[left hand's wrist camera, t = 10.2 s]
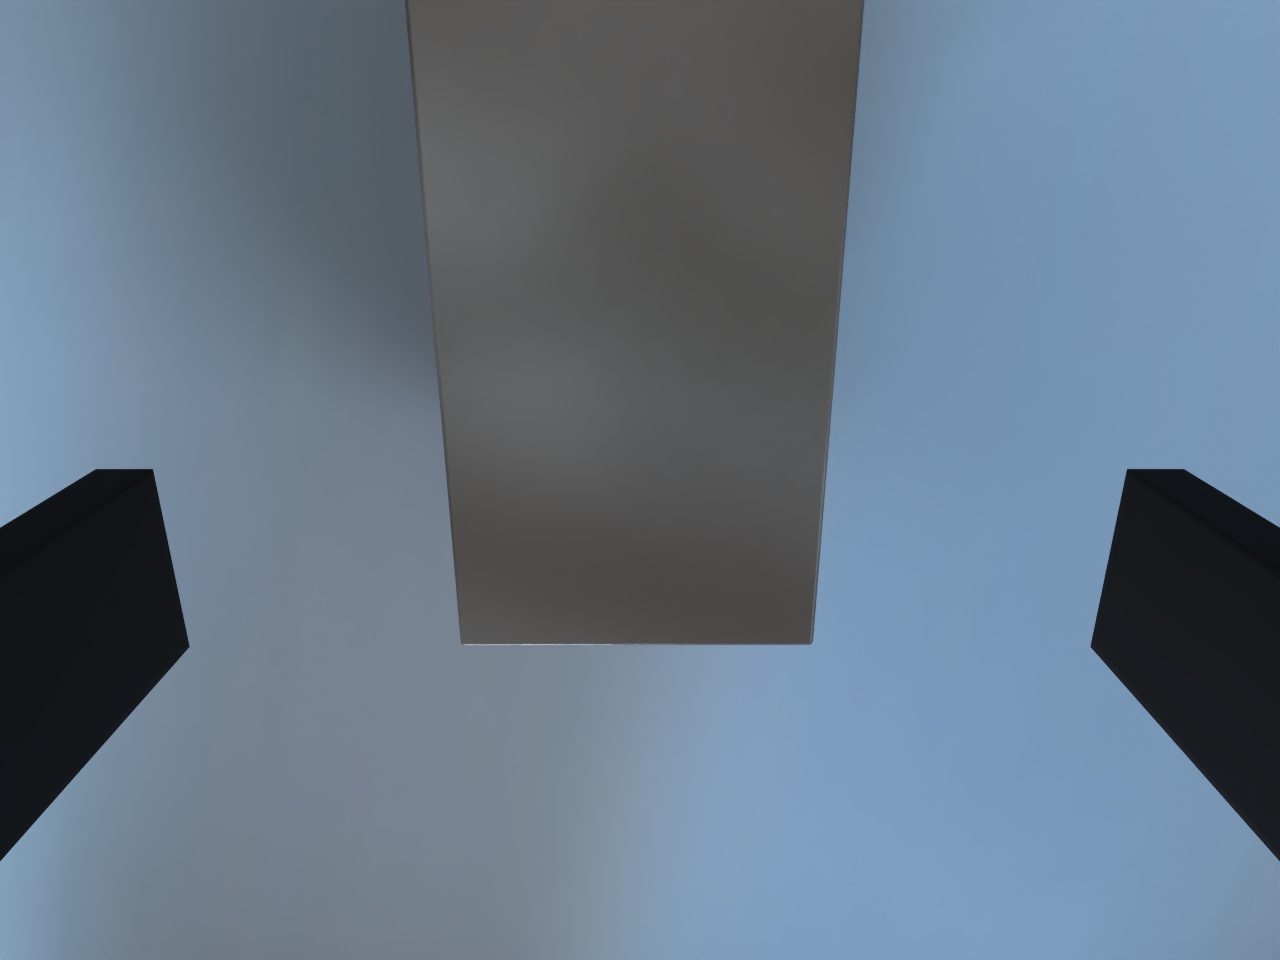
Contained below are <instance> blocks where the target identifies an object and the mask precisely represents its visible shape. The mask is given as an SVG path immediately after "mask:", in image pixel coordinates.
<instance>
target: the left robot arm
mask: <svg viewBox="0 0 1280 960" xmlns="http://www.w3.org/2000/svg"><path fill="white" fill-rule="evenodd" d="M188 648H189V642H188V637H187V632H186V628H185V623H184V618H183V613H182V608H181V603H180V598H179V594H178V589H177V584H176V579H175V574H174V569H173V564H172V560H171V555H170V550H169V545H168V540H167V535H166V531H165V526H164V521H163V516H162V511H161V506H160V501H159V497H158V492H157V487H156V482H155V477H154V472H153V469H96V470H94V471H92V472H91V473H89V474H87V475H86V476H84V477H82V478H81V479H79V480H78V481H76V482H74V483H73V484H71V485H69V486H68V487H66V488H64V489H63V490H61V491H60V492H58V493H56V494H55V495H53V496H51V497H50V498H48V499H46V500H45V501H43V502H42V503H40V504H38V505H37V506H35V507H33V508H32V509H30V510H29V511H27V512H25V513H24V514H22V515H20V516H19V517H17V518H15V519H14V520H12V521H11V522H9V523H7V524H6V525H4V526H2V527H1V528H0V861H1V860H2V859H3V857H4V856H5V855H6V854H7V853H8V852H9V851H10V850H11V848H12V847H13V846H14V845H15V844H16V843H17V842H18V840H19V839H20V838H21V837H22V836H23V835H24V834H25V833H26V831H27V830H28V829H29V828H30V827H31V826H32V825H33V824H34V822H35V821H36V820H37V819H38V818H39V817H40V816H41V814H42V813H43V812H44V811H45V810H46V809H47V808H48V807H49V805H50V804H51V803H52V802H53V801H54V800H55V799H56V797H57V796H58V795H59V794H60V793H61V792H62V791H63V790H64V788H65V787H66V786H67V785H68V784H69V783H70V782H71V780H72V779H73V778H74V777H75V776H76V775H77V774H78V773H79V771H80V770H81V769H82V768H83V767H84V766H85V765H86V763H87V762H88V761H89V760H90V759H91V758H92V757H93V756H94V754H95V753H96V752H97V751H98V750H99V749H100V748H101V746H102V745H103V744H104V743H105V742H106V741H107V740H108V739H109V737H110V736H111V735H112V734H113V733H114V732H115V731H116V729H117V728H118V727H119V726H120V725H121V724H122V723H123V722H124V720H125V719H126V718H127V717H128V716H129V715H130V714H131V713H132V711H133V710H134V709H135V708H136V707H137V706H138V705H139V703H140V702H141V701H142V700H143V699H144V698H145V697H146V696H147V694H148V693H149V692H150V691H151V690H152V689H153V688H154V686H155V685H156V684H157V683H158V682H159V681H160V680H161V679H162V677H163V676H164V675H165V674H166V673H167V672H168V671H169V669H170V668H171V667H172V666H173V665H174V664H175V663H176V662H177V660H178V659H179V658H180V657H181V656H182V655H183V654H184V652H185V651H186V650H187V649H188ZM1091 648H1092V649H1093V650H1094V651H1095V652H1096V654H1097V655H1098V656H1099V657H1100V658H1101V659H1102V660H1103V662H1104V663H1105V664H1106V665H1107V666H1108V667H1109V668H1110V669H1111V671H1112V672H1113V673H1114V674H1115V675H1116V676H1117V677H1118V679H1119V680H1120V681H1121V682H1122V683H1123V684H1124V685H1125V686H1126V688H1127V689H1128V690H1129V691H1130V692H1131V693H1132V694H1133V696H1134V697H1135V698H1136V699H1137V700H1138V701H1139V702H1140V703H1141V705H1142V706H1143V707H1144V708H1145V709H1146V710H1147V711H1148V713H1149V714H1150V715H1151V716H1152V717H1153V718H1154V719H1155V720H1156V722H1157V723H1158V724H1159V725H1160V726H1161V727H1162V728H1163V729H1164V731H1165V732H1166V733H1167V734H1168V735H1169V736H1170V737H1171V739H1172V740H1173V741H1174V742H1175V743H1176V744H1177V745H1178V746H1179V748H1180V749H1181V750H1182V751H1183V752H1184V753H1185V754H1186V756H1187V757H1188V758H1189V759H1190V760H1191V761H1192V762H1193V763H1194V765H1195V766H1196V767H1197V768H1198V769H1199V770H1200V771H1201V773H1202V774H1203V775H1204V776H1205V777H1206V778H1207V779H1208V780H1209V782H1210V783H1211V784H1212V785H1213V786H1214V787H1215V788H1216V790H1217V791H1218V792H1219V793H1220V794H1221V795H1222V796H1223V797H1224V799H1225V800H1226V801H1227V802H1228V803H1229V804H1230V805H1231V807H1232V808H1233V809H1234V810H1235V811H1236V812H1237V813H1238V814H1239V816H1240V817H1241V818H1242V819H1243V820H1244V821H1245V822H1246V824H1247V825H1248V826H1249V827H1250V828H1251V829H1252V830H1253V831H1254V833H1255V834H1256V835H1257V836H1258V837H1259V838H1260V839H1261V841H1262V842H1263V843H1264V844H1265V845H1266V846H1267V847H1268V848H1269V850H1270V851H1271V852H1272V853H1273V854H1274V855H1275V856H1276V857H1277V859H1278V860H1279V861H1280V528H1279V527H1278V526H1276V525H1274V524H1273V523H1271V522H1269V521H1268V520H1266V519H1265V518H1263V517H1261V516H1260V515H1258V514H1256V513H1255V512H1253V511H1251V510H1250V509H1248V508H1247V507H1245V506H1243V505H1242V504H1240V503H1238V502H1237V501H1235V500H1234V499H1232V498H1230V497H1229V496H1227V495H1225V494H1224V493H1222V492H1220V491H1219V490H1217V489H1216V488H1214V487H1212V486H1211V485H1209V484H1207V483H1206V482H1204V481H1202V480H1201V479H1199V478H1198V477H1196V476H1194V475H1193V474H1191V473H1189V472H1188V471H1186V470H1184V469H1127V472H1126V477H1125V482H1124V487H1123V492H1122V497H1121V501H1120V506H1119V511H1118V516H1117V521H1116V526H1115V531H1114V535H1113V540H1112V545H1111V550H1110V555H1109V560H1108V564H1107V569H1106V574H1105V579H1104V584H1103V589H1102V594H1101V598H1100V603H1099V608H1098V613H1097V618H1096V623H1095V628H1094V632H1093V637H1092V642H1091Z"/></svg>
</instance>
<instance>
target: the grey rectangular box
mask: <svg viewBox="0 0 1280 960" xmlns="http://www.w3.org/2000/svg"><path fill="white" fill-rule="evenodd" d="M405 7H406V18H407V30H408V41H409V53H410V64H411V75H412V87H413V98H414V110H415V121H416V133H417V144H418V156H419V167H420V179H421V190H422V202H423V213H424V224H425V236H426V247H427V259H428V270H429V282H430V293H431V305H432V316H433V328H434V339H435V351H436V362H437V373H438V385H439V396H440V408H441V419H442V431H443V442H444V454H445V465H446V477H447V488H448V500H449V511H450V522H451V534H452V545H453V557H454V568H455V580H456V591H457V603H458V614H459V626H460V637H461V643H462V645H464V646H477V645H809V644H812V642H813V634H814V621H815V609H816V596H817V584H818V571H819V559H820V546H821V534H822V521H823V509H824V496H825V484H826V471H827V459H828V447H829V434H830V422H831V409H832V397H833V384H834V372H835V359H836V347H837V334H838V322H839V309H840V297H841V284H842V272H843V259H844V247H845V234H846V222H847V210H848V197H849V185H850V172H851V160H852V147H853V135H854V122H855V110H856V97H857V85H858V72H859V60H860V47H861V35H862V22H863V10H864V0H405Z"/></svg>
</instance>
